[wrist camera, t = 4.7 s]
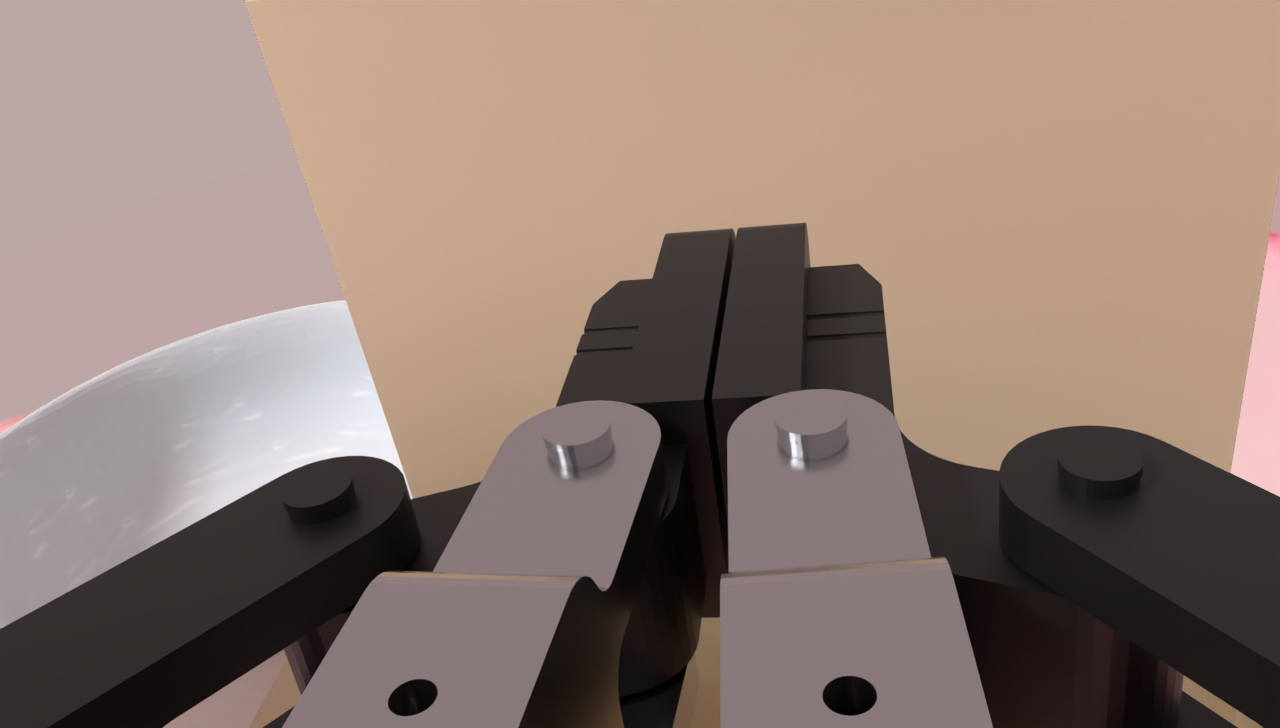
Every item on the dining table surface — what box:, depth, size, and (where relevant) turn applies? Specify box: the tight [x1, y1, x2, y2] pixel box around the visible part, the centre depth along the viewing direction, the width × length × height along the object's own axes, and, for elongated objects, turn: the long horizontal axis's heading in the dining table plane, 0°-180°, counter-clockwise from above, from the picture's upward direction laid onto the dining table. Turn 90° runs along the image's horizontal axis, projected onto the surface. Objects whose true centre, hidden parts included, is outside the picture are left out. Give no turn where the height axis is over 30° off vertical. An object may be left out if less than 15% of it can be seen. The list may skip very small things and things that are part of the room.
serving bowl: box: [0, 300, 413, 728], centre depth 39 cm, size 21×21×7 cm
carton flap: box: [245, 0, 1280, 499], centre depth 18 cm, size 10×14×1 cm
